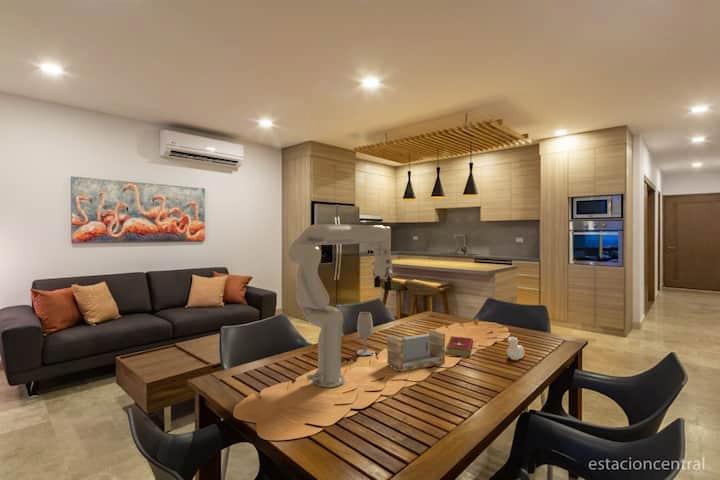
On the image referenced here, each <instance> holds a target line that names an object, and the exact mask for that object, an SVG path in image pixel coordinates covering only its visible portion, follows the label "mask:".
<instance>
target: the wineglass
mask: <svg viewBox="0 0 720 480" xmlns="http://www.w3.org/2000/svg"><path fill="white" fill-rule="evenodd" d="M356 329H357V335H359V337H360V338H361V339H362V340H363V349H358V350H357V351H356V354H357V355H358V356H361V357H367V356H366V355H370V356H372V355H373V354H374V351H373V350H371V349H367V339H369V338H370V337H371V336H372V334H373V330H374V322H373V316H372V313H371V312H370V311H360V312H359V314H358V316H357V324H356ZM372 353H373V354H372ZM371 354H372V355H371Z"/></svg>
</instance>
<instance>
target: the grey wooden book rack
mask: <svg viewBox="0 0 720 480" xmlns="http://www.w3.org/2000/svg"><path fill="white" fill-rule="evenodd" d="M428 335H430V357H427V358H422V359H416V360H411V361H406V362H403V340H402V338H398V337H396V336H395V335H393V334H389V335H387V364H389V365H390V366H392V367H393V368H395V369H396V370H395V369H394V370H395V371H397V370H398V371H401V372H406V371H411V370H415V369H414V368H416V369H420V367H421V368H425V366H426V367H430V365H431V366H435V365H440V364H441V365H442V364H445V363H446V357H445V356H446V352H445V351H446V349H445V348H446V345H445V344H446V334H445V333H444V332H441V331H439V330H435V329H434V328H429V329H428ZM389 365H388V366H389ZM390 366H389V367H390ZM392 367H391V368H392ZM393 368H392V369H393ZM410 369H411V370H410ZM405 370H406V371H405ZM398 371H397V372H398Z"/></svg>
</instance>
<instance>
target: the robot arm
mask: <svg viewBox="0 0 720 480" xmlns="http://www.w3.org/2000/svg"><path fill="white" fill-rule="evenodd" d="M391 234H392V229H391V226H386V225H385V226H384V225H380V224H378V225H375V224H374V225H365V224H364V225H360V224H348V223H347V224H346V223H345V224H341V223H339V224H337V223H335V224H332V223H331V224H327V223H325V224H323V223H322V224H312V225H309V226H308V227H307V228H306V229H305V230H304V231H303V232H302V233H301V234H300V235H299V236H298V237H297V238H296V240H294V241H293V242H292V244H291V245H290V246H289V248H288V251H287V257H288V259H289V260H290V262H292V263H293V264H296V265H298V267H297V273H296V281H297V283H298V285H299V287H298V288H297V290H296V292H295V300H296V302H297V304H298V307H299V308H300V310H301V312H302V313H303V315H304V317H305V318H306V320H307V321H308V322H309V324H311V325H313V326H315V327H318V328H320V332H319V334H318V338H317V370H315V372H314V373H313V374H307V375H306V379H307V381H310V380H311V381H312V382H314V384H315V385H316V386H318V387H320V388H321V387H322V388H335V387H336V386H337V387H339V385H340V386H342V385H343V384H344V383H345V377H344V376H343V375H342V348H341V347H342V343H341V342H342V330H343V329H342V328H343V323H344V316H343V315H344V314H343V313H342V312H341V310H340V309H338V308H337V307H334V306H331V305H329V304H330V296H329V293H328V291H327V288H326V287H325V286H324V284H323V282H322V280H321V278H320V275H319V272H318V271H319V270H318V268H319V265H320V263H321V259H322V250H321V248H320V247H319V246H320V245H321V246H322V245H323V246H330V245H331V246H332V245H333V246H334V245H357V244H369V243H371V244H372V243H373V244H374V264H373V269H372V275H373V287H374V288H381V278H383V279H384V287H383V289H384V291H392V280H393V276H394V272H393V260H392V255H391V248H392V247H391V246H392V245H391V244H392V241H391V239H392V236H391ZM318 245H319V246H318ZM341 384H342V385H341Z"/></svg>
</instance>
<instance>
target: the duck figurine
mask: <svg viewBox="0 0 720 480" xmlns="http://www.w3.org/2000/svg"><path fill="white" fill-rule="evenodd" d="M507 342H508V344H510V345H509V346H508V347H507V349H506V354H507V355H506V356H508V358H510V359H511V360H515V361H518V360H522V359H523V357H524V355H525V352H526V351H525V348H524V346H522V345H521V344H518V343H519V339H518V337H515V336H509V337H508V338H507Z"/></svg>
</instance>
